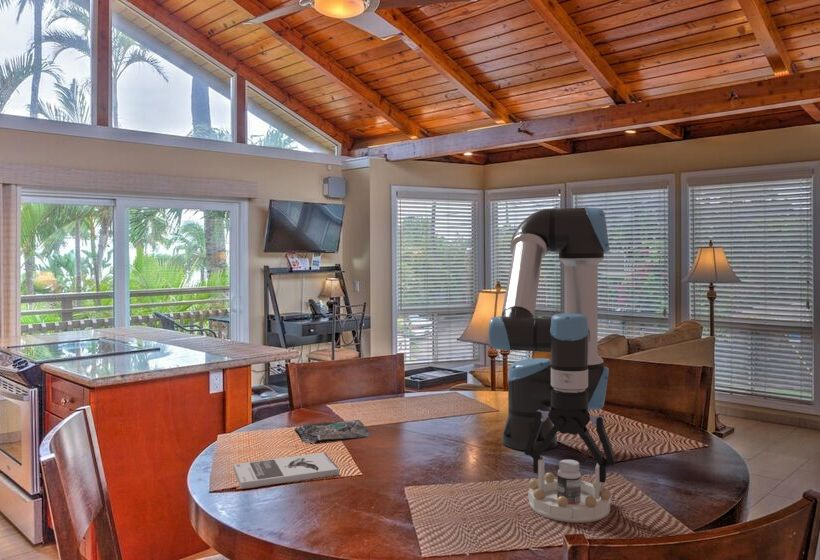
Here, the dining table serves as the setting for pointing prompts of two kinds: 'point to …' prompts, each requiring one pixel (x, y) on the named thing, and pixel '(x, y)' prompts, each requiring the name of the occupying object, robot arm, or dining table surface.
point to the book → (284, 470)
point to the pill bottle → (569, 481)
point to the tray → (569, 510)
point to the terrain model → (332, 431)
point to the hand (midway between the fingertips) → (569, 492)
